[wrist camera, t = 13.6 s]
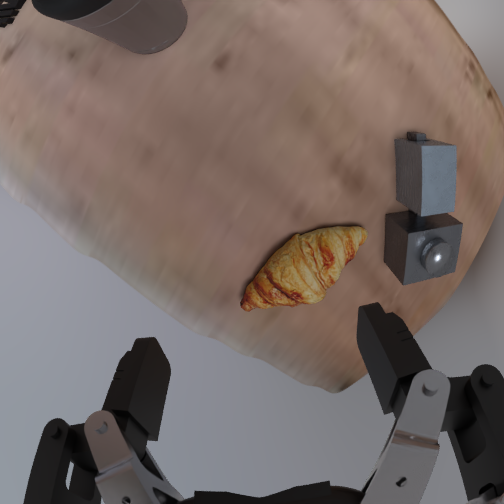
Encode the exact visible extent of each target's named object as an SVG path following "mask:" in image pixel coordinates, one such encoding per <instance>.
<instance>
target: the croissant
mask: <svg viewBox="0 0 504 504" xmlns="http://www.w3.org/2000/svg"><path fill="white" fill-rule="evenodd" d="M367 234H368V232H367V231H366V230H365V229H364V228H362V227H359V226H356V227H355V226H351V227H341V226H336V227H331V228H329V227H327V228H322V229H317V230H315V231H312V232H308V233H305V234H303V235H300V234H295V235H294V236H293V237H292V238H291V239H290V240H289V241H288V242H287V243H285V245H284V246H283V247H282V248H280V249H278V250H277V251H276V252H275V253H274V254H273V255H272V256H271V257H270V259H269V260H268V261H267V263H266V264H265V266H264V267H263V268H262V269H261V270H260V271H259V273H258V274H257V275H256V277H255V278H254V280H253V281H252V282H251V283H250V284H249V285H248V286H247V288H246V291H245V293H244V297H243V299H242V300H241V302H240V305H241V308H242V309H244V310H245V311H251V310H252V309H254V308H257V307H258V308H262V309H266V308H273V307H274V306H282V305H283V306H291V307H295V306H297V305H299V304H302V303H303V304H312V303H317V302H319V301H321V300H323V299H324V297H325V295H326V289H327V288H330V287H331V286H332V285H334V284H335V281H337V280H338V278H339V275H340V272H341V269H343V268H344V266H345V265H346V264H347V263H348V262H349V261H351V260H352V259H353V258H354V257H355V254H356V252H357V250H358V248H359V246H360V245H362V244H363V243H364V242H365V240H366V238H367Z"/></svg>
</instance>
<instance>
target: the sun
mask: <svg viewBox="0 0 504 504" xmlns="http://www.w3.org/2000/svg"><path fill="white" fill-rule="evenodd" d="M25 1H26V0H5V1H4V2H8V4H2V5H0V27H3V28H5V27H6V25H7V24H12V23H13V21H14V18H10V17H13V16H17V14H18V12H19V11H17V10H14V9H21V8H22V6H23V4H24V3H25ZM6 10H7V11H6ZM3 17H7V18H3Z"/></svg>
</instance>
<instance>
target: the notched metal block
mask: <svg viewBox="0 0 504 504" xmlns="http://www.w3.org/2000/svg"><path fill="white" fill-rule="evenodd" d="M394 142H395V158H396V193H397V200H398V201H399V202H401V203H402V204H403V205H405V206H406V207H408V208H409V209H411V210H412V211H414V212H415V213H417V214H418V215H419V216H421V217H422V216H429V215H435V214H441V213H448V212H454V206H455V192H456V145H452V144H448V143H444V142H441V141H437V140H432V139H428V138H426V141H409V140H405V139H394Z"/></svg>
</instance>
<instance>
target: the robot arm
mask: <svg viewBox="0 0 504 504" xmlns="http://www.w3.org/2000/svg"><path fill="white" fill-rule="evenodd" d="M4 1H5V0H0V5H1V4H2V3H3V2H4ZM32 3H33V6H34V7H35V8H36V10H37V11H38V12H40V13H41V14H43V15H45V16H48V17H51V18H54V19H57V20H60V21H63V22H65V23H68V24H71V25H73V26H76V27H79V28H81V29H84V30H86V31H89V32H91V33H93V34H96V35H98V36H100V37H102V38H105V39H107V40H109V41H111V42H113V43H116V44H118V45H120V46H122V47H124V48H126V49H128V50H130V51H132V52H135V53H139V54H151V53H155V52H158V51H161V50H163V49H165V48H167V47H168V46H170V45H171V44H173V43H174V42H175V41H176V40H177V39H178V38H179V37H180V35H181V34H182V32H183V31H184V29H185V26H186V23H187V12H186V9H185V7H184V5H183V4H182V2H181V0H32ZM357 344H358V348H359V350H360V353H361V355H362V358H363V360H364V363H365V365H366V368H367V370H368V373H369V375H370V378H371V380H372V383H373V385H374V388H375V391H376V393H377V396H378V399H379V402H380V404H381V407H382V410H383V413H384V414H388V413H391V412H393V413H394V416H395V418H396V419H395V421H394V424H393V427H392V429H391V432H390V434H389V436H388V438H387V441H386V443H385V445H384V448H383V450H382V452H381V454H380V456H379V458H378V460H377V462H376V464H375V466H374V468H373V470H372V471H371V473H370V475H369V477H368V479H367V481H366V483H365V484H364V486H363V488H362V490H361V491H359V490H356V489H352V488H348V487H342V486H330V481H325V482H320V483H315V484H309V485H303V486H296V487H293V488H291V489H287V490H284V491H281V492H278V493H275V494H272V495H269V496H266V497H260V498H258V497H251V496H246V495H240V494H235V493H230V492H211V491H209V492H208V491H195V492H194V497H191V498H188V499H184V498H183V497H182V495H181V494H180V493H179V492H178V491H177V490H176V489H175V488H174V487H173V486H172V485H171V484H170V483H169V481H168V480H167V479H166V477H165V476H164V475H163V473H162V471H161V469H160V468H159V466H158V465H157V463H156V461H155V460H154V458H153V456H152V455H151V453H150V452H149V450H148V448H147V447H146V445H147V440H149V441H158V435H159V430H160V425H161V420H162V415H163V409H164V404H165V400H166V395H167V390H168V385H169V381H170V376H171V368H170V364H169V361H168V359H167V358H166V356H165V354H164V352H163V350H162V348H161V347H160V345H159V343H158V341H157V339H156V338H155V337H149V338H137V339H136V340H135V342H134V345H133V347H132V350H131V351H127V352H126V354H125V355H124V356H123V357H122V358H121V360H120V362H119V364H118V366H117V369H116V372H115V374H114V377H113V380H112V382H111V385H110V388H109V390H108V393H107V396H106V399H105V402H104V405H103V408H102V410H101V411H97V412H94V413H93V414H91V415H90V416H89V417H88V419H87V420H86V422H85V423H82V424H76V425H71V426H70V425H68V424H67V423H66V422H65V421H64V420H62V419H60V418H56V419H53V420H51V421H50V422H48V424H47V425H46V426H45V428H44V430H43V433H42V436H41V439H40V442H39V445H38V449H37V452H36V455H35V459H34V462H33V466H32V469H31V473H30V477H29V481H28V485H27V489H26V494H25V499H24V504H101V497H102V498H103V501H104V503H105V504H419V502H420V500H421V498H422V496H423V493H424V491H425V489H426V486H427V484H428V481H429V479H430V476H431V473H432V471H433V468H434V465H435V462H436V459H437V456H438V453H439V447H440V446H439V444H438V437H439V434H440V432H442V431H447V432H448V435H449V438H450V440H451V444H452V446H453V449H454V452H455V456H456V459H457V462H458V465H459V469H460V472H461V476H462V479H463V483H464V487H465V490H466V494H467V499H468V503H467V504H504V378H503V376H502V375H501V373H500V371H499V370H498V369H497V368H495V367H494V366H492V365H488V364H484V365H480V366H478V367H476V368H475V369H474V370H473V372H472V374H471V376H463V377H453V378H452V377H451V378H449V377H446V376H445V375H444V374H443V373H442V372H440V371H437V370H433V369H432V368H431V366H430V365H429V363H428V361H427V359H426V357H425V356H424V354H423V353H422V351H421V349H420V347H419V346H418V344H417V342H416V340H415V339H413V335H412V334H411V332H410V331H409V330H408V327H407V326H406V324H405V323H404V321H403V319H401V318H400V317H399V316H397V315H396V314H394V313H393V312H391V313H387V314H386V313H385V312H384V310H383V308H382V307H381V305H380V304H379V303H378V302H376V303H372V304H368V305H363V306H360V307H359V310H358V323H357ZM70 461H71V462H72V463H73V464H74V467H73V472H72V476H71V481H70V486H69V490H68V489H67V487H66V477H67V473H68V468H69V464H70Z"/></svg>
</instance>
